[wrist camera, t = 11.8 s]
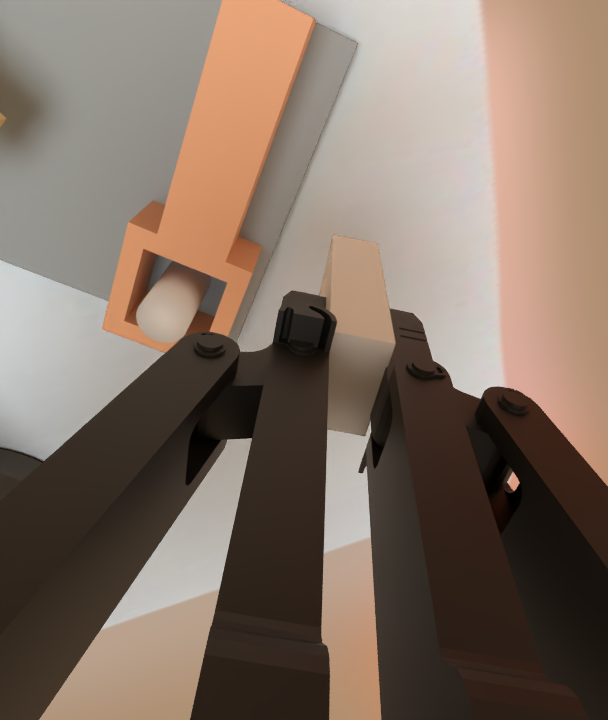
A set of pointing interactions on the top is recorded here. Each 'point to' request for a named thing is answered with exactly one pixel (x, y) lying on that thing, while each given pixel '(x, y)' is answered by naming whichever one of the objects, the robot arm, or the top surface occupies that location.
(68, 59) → the board
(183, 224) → the link
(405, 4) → the top surface
